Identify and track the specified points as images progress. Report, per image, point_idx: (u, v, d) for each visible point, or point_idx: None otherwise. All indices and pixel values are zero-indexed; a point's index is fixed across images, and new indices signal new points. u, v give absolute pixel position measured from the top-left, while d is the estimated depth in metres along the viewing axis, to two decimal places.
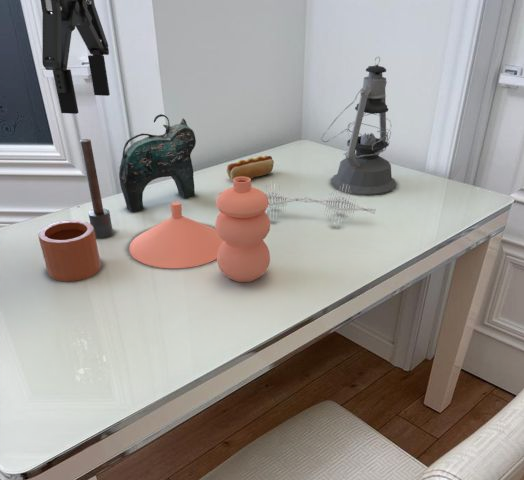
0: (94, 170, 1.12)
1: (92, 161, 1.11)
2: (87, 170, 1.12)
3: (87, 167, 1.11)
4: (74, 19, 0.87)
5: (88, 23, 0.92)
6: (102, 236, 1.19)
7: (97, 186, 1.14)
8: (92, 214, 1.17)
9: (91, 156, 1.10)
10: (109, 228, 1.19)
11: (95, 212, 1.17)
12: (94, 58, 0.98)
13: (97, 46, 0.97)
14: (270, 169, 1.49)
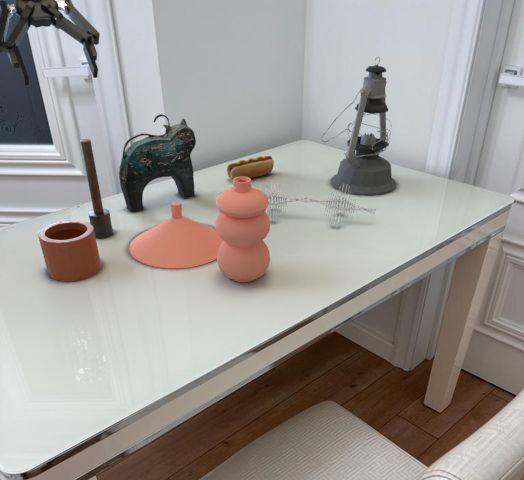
0: (94, 170, 1.12)
1: (92, 161, 1.11)
2: (87, 170, 1.12)
3: (87, 167, 1.11)
4: None
5: (27, 29, 1.10)
6: (102, 236, 1.19)
7: (97, 186, 1.14)
8: (92, 214, 1.17)
9: (91, 156, 1.10)
10: (109, 228, 1.19)
11: (95, 212, 1.17)
12: None
13: None
14: (270, 169, 1.49)
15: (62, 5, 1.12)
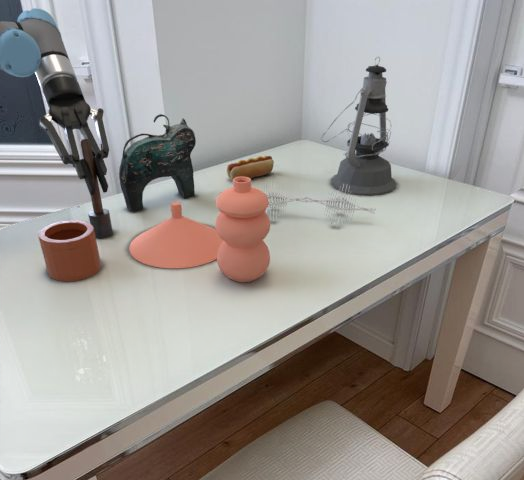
0: (94, 170, 1.12)
1: (92, 161, 1.11)
2: None
3: (87, 167, 1.11)
4: None
5: None
6: (102, 236, 1.19)
7: (97, 186, 1.14)
8: (92, 214, 1.17)
9: (91, 156, 1.10)
10: (109, 228, 1.19)
11: (95, 212, 1.17)
12: None
13: None
14: (270, 169, 1.49)
15: (93, 112, 1.14)
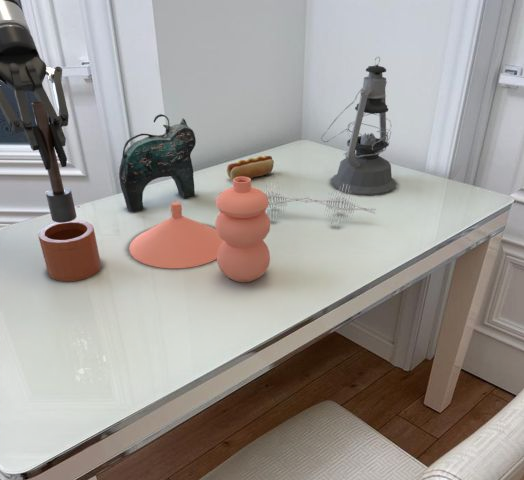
0: (50, 140, 0.93)
1: (47, 128, 0.92)
2: None
3: (41, 136, 0.92)
4: None
5: None
6: (63, 220, 1.00)
7: (55, 159, 0.95)
8: (50, 194, 0.98)
9: (45, 122, 0.92)
10: (71, 210, 1.00)
11: (53, 191, 0.98)
12: None
13: None
14: (270, 169, 1.49)
15: (50, 72, 0.95)
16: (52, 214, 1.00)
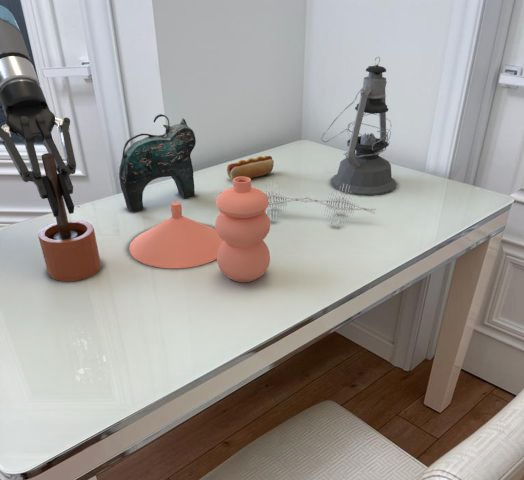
0: (58, 188, 0.98)
1: (56, 178, 0.97)
2: None
3: (50, 185, 0.97)
4: None
5: None
6: None
7: (62, 206, 1.00)
8: (58, 237, 1.03)
9: (54, 173, 0.96)
10: None
11: (61, 235, 1.03)
12: None
13: None
14: (270, 169, 1.49)
15: (59, 122, 1.00)
16: None
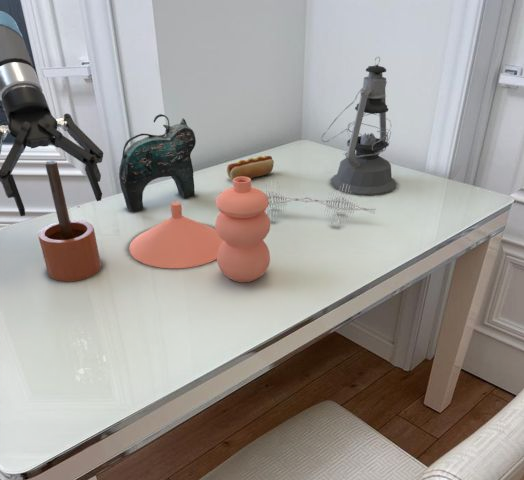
0: (62, 195, 0.99)
1: (59, 186, 0.98)
2: (54, 196, 0.98)
3: (53, 192, 0.98)
4: None
5: (23, 150, 0.99)
6: None
7: (66, 213, 1.01)
8: None
9: (58, 180, 0.97)
10: None
11: None
12: None
13: (11, 172, 0.97)
14: (270, 169, 1.49)
15: (61, 122, 1.01)
16: None
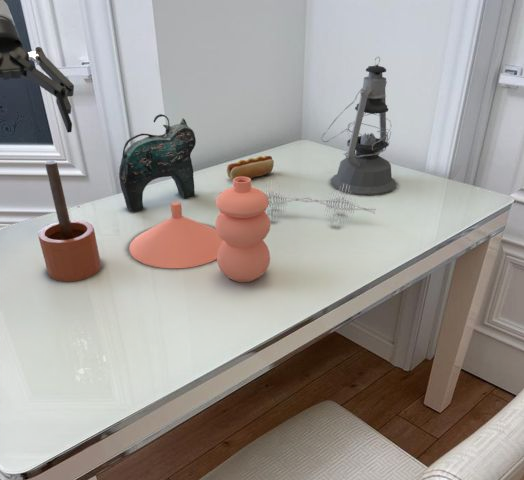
0: (62, 195, 0.99)
1: (59, 186, 0.98)
2: (54, 196, 0.98)
3: (53, 192, 0.98)
4: None
5: None
6: None
7: (66, 213, 1.01)
8: None
9: (58, 180, 0.97)
10: None
11: None
12: None
13: None
14: (270, 169, 1.49)
15: (33, 55, 1.04)
16: None
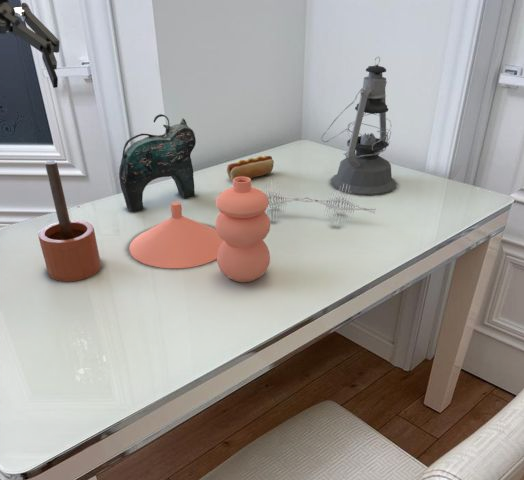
0: (62, 195, 0.99)
1: (59, 186, 0.98)
2: (54, 196, 0.98)
3: (53, 192, 0.98)
4: None
5: None
6: None
7: (66, 213, 1.01)
8: None
9: (58, 180, 0.97)
10: None
11: None
12: None
13: None
14: (270, 169, 1.49)
15: (19, 11, 1.06)
16: None
